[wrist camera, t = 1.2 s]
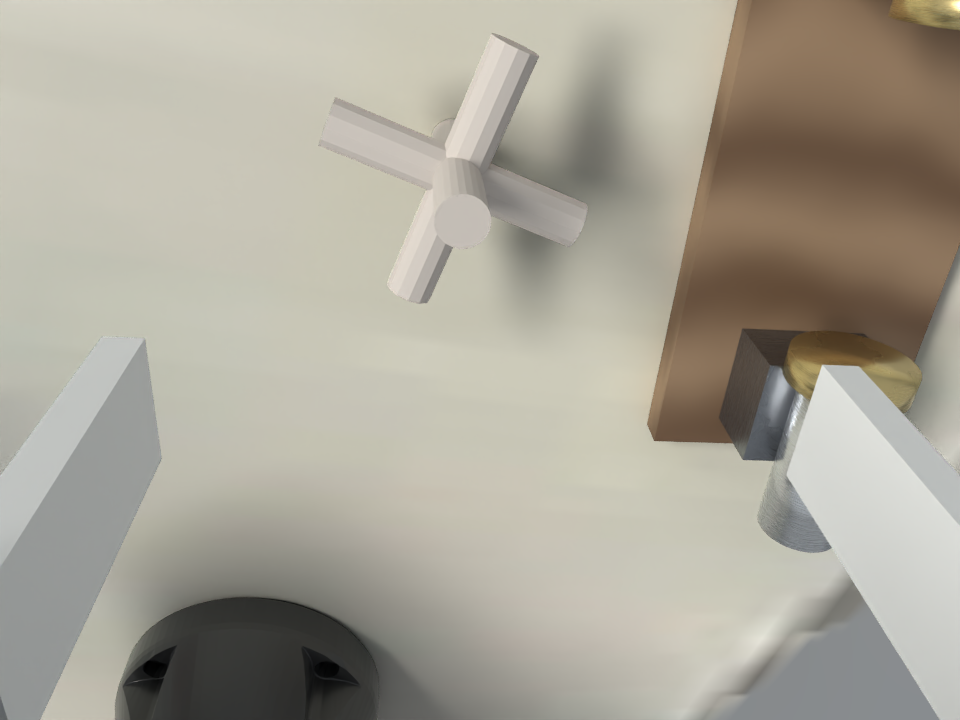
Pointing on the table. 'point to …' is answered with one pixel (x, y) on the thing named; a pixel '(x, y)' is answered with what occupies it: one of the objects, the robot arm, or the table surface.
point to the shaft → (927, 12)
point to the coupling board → (815, 194)
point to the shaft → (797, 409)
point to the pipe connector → (457, 171)
